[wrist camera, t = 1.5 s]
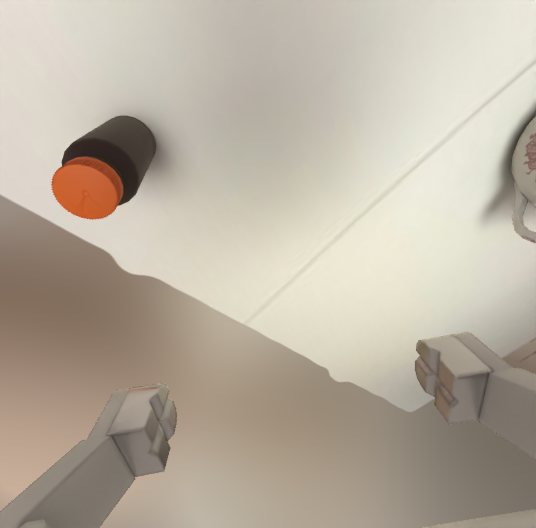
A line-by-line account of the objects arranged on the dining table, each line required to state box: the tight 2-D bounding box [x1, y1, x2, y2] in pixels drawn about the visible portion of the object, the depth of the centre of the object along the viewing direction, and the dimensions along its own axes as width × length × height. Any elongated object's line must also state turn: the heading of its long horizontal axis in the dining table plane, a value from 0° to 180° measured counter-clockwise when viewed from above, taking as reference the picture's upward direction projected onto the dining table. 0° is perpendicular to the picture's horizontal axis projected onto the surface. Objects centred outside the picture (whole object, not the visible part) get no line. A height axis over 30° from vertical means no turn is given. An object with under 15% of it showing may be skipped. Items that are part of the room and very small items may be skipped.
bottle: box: [51, 116, 156, 220], centre depth 31 cm, size 7×7×20 cm
